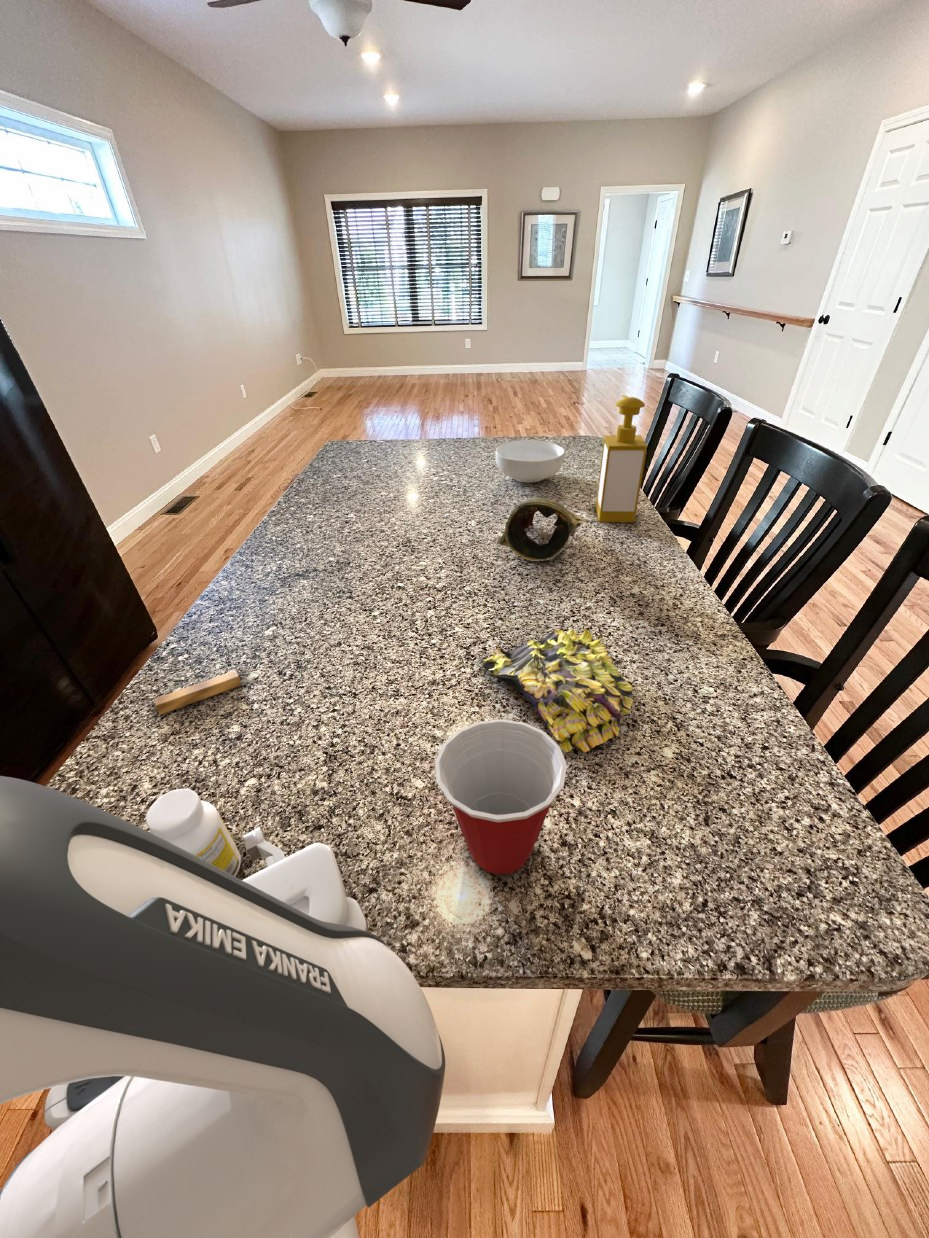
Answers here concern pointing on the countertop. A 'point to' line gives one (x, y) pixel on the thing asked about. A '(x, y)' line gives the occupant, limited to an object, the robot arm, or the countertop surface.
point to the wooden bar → (197, 692)
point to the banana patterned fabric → (568, 686)
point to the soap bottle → (621, 467)
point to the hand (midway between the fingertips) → (194, 862)
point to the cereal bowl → (529, 460)
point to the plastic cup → (500, 788)
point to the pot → (524, 519)
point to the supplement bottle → (194, 828)
